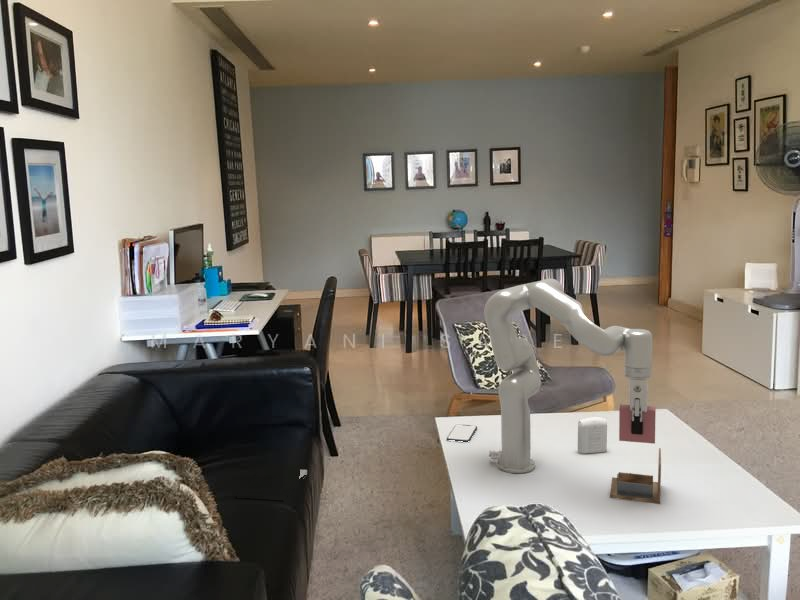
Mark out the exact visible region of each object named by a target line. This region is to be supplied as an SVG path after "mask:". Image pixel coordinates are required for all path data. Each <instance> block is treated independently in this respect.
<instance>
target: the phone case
mask: <svg viewBox="0 0 800 600" xmlns="http://www.w3.org/2000/svg"><path fill="white" fill-rule="evenodd" d="M477 430H478V426H477V425H473V424H472V425H470V424H455V425H454V427H453V428H452V430H451V431H450V432H449V434H448V436H447V437H446V441H447V440H455V441H463V442H468V441H470V442H471V440H472V439H473V437H474V436H473V435H475V434H476V432H477ZM475 431H476V432H475ZM474 433H475V434H474ZM472 436H473V437H472ZM471 438H472V439H471ZM463 442H462V443H463ZM468 443H469V442H468Z"/></svg>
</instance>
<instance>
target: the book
mask: <svg viewBox="0 0 800 600" xmlns="http://www.w3.org/2000/svg"><path fill="white" fill-rule="evenodd" d="M656 408H657V407H656V406H651V405H650V406H649V405H648V409H647V412H646V413H645V411H642V421H643V434H642V435H639V434H632V433H631V420H632V411H630V405H629V404H622V403H621V404H619V411H618V413H619V415H618V416H619V417H618V419H619V423H618V424H619V426H618V427H619V430H618V441H619V442H629V443H631V442H632V443H641V444H642V443H644V444H652V445H653V444H655V445H656V413H657V411H656ZM634 410H635V409H634ZM639 411H641V409H639ZM634 414H635V413H634ZM639 414H640V413H639Z"/></svg>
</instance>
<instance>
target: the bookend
mask: <svg viewBox="0 0 800 600" xmlns="http://www.w3.org/2000/svg"><path fill="white" fill-rule="evenodd" d="M617 495H620V496H628V497H637V498H646V499H653V485H648V484H639V483H629V482H620V481H617Z"/></svg>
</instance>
